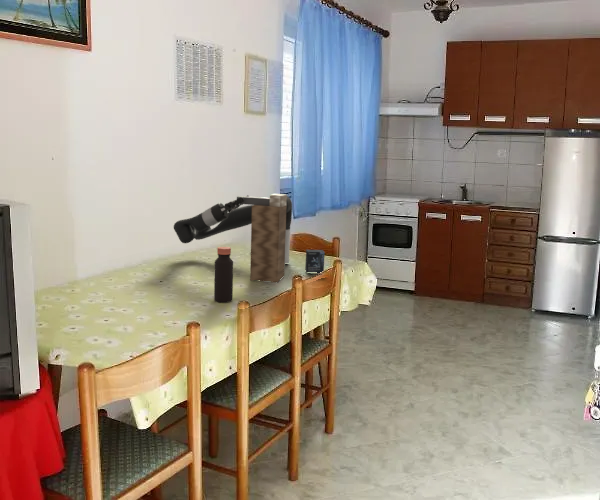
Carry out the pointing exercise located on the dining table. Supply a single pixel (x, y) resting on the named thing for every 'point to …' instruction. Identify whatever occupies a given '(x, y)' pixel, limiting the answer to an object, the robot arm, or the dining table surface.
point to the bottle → (223, 276)
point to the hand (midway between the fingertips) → (246, 198)
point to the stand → (268, 239)
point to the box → (314, 261)
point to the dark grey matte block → (255, 200)
